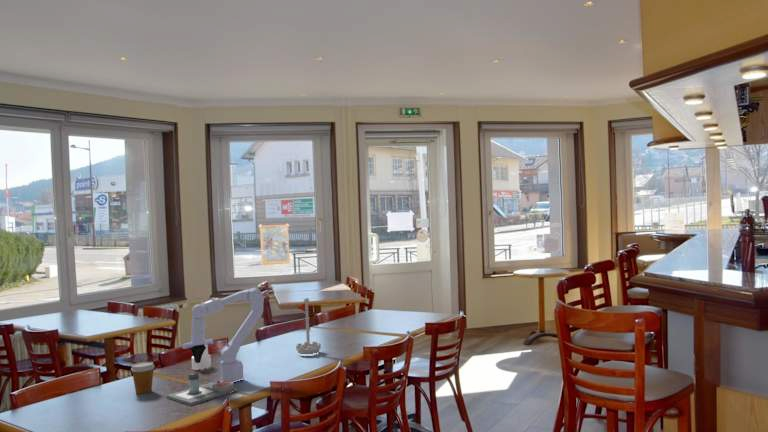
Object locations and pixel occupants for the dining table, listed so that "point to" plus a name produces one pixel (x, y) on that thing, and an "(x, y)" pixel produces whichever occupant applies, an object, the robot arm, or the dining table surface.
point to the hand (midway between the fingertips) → (197, 362)
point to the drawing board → (202, 393)
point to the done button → (222, 384)
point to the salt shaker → (193, 383)
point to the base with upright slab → (202, 360)
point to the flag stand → (307, 347)
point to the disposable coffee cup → (143, 377)
